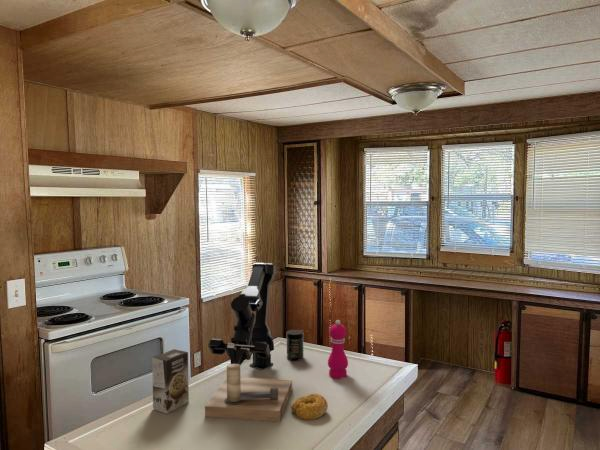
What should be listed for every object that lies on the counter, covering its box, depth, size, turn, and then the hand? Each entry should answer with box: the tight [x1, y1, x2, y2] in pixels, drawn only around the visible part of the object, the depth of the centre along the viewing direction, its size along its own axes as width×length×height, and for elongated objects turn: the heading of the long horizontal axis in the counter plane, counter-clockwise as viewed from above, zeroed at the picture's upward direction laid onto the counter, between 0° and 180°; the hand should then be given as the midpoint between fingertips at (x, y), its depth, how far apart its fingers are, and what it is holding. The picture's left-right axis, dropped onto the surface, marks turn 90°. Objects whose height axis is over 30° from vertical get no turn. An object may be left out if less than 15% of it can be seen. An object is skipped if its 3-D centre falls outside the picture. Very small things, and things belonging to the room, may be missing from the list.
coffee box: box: [151, 348, 190, 414], centre depth 138 cm, size 9×6×16 cm
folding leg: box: [226, 363, 278, 402], centre depth 135 cm, size 4×15×10 cm, turn 97°
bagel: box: [290, 393, 328, 421], centre depth 134 cm, size 10×11×5 cm
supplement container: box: [285, 329, 304, 362], centre depth 179 cm, size 7×7×10 cm
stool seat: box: [204, 376, 293, 422], centre depth 141 cm, size 22×22×3 cm
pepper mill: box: [327, 319, 349, 379], centre depth 161 cm, size 7×7×20 cm
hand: (233, 374), depth 137 cm, fingers closed, pressing on folding leg
